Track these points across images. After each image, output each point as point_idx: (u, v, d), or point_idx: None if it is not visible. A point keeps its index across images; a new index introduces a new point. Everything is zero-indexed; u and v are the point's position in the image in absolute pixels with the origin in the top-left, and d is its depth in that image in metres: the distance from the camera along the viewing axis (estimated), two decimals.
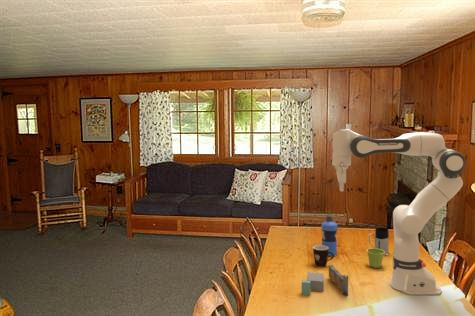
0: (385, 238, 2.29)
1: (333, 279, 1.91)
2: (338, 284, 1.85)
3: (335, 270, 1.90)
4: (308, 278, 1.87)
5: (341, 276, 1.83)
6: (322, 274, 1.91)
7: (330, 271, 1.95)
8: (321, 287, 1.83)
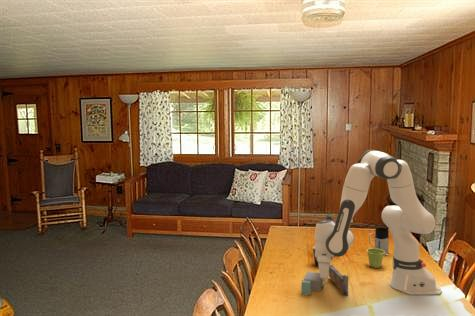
0: (385, 238, 2.29)
1: (333, 279, 1.91)
2: (338, 284, 1.85)
3: (335, 270, 1.90)
4: (305, 277, 1.87)
5: (341, 276, 1.83)
6: None
7: (330, 271, 1.95)
8: (318, 287, 1.83)
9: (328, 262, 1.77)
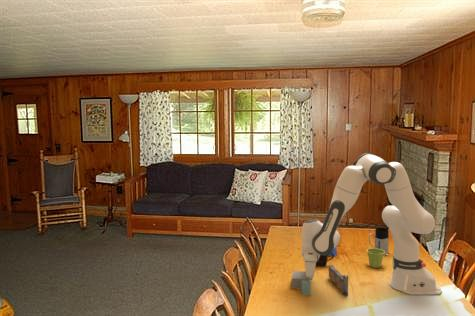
0: (385, 238, 2.29)
1: (333, 279, 1.91)
2: (338, 284, 1.85)
3: (335, 270, 1.90)
4: (293, 276, 1.89)
5: (341, 276, 1.83)
6: None
7: (330, 271, 1.95)
8: None
9: (314, 261, 1.79)
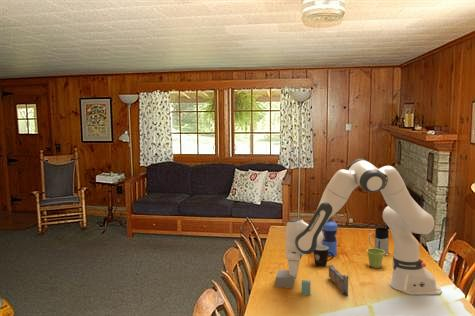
0: (385, 238, 2.29)
1: (333, 279, 1.91)
2: (338, 284, 1.85)
3: (335, 270, 1.90)
4: (277, 275, 1.90)
5: (341, 276, 1.83)
6: None
7: (330, 271, 1.95)
8: (290, 284, 1.87)
9: (297, 260, 1.81)
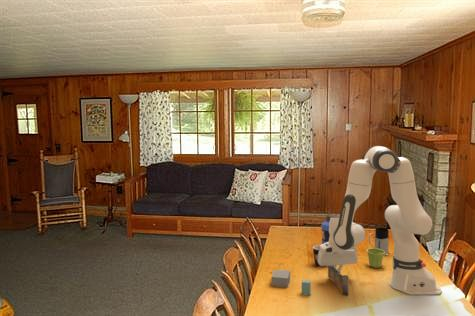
0: (385, 238, 2.29)
1: (332, 279, 1.91)
2: (338, 284, 1.85)
3: (334, 270, 1.90)
4: (273, 275, 1.91)
5: (341, 276, 1.83)
6: (288, 271, 1.95)
7: (329, 271, 1.95)
8: (286, 284, 1.87)
9: (323, 251, 1.91)
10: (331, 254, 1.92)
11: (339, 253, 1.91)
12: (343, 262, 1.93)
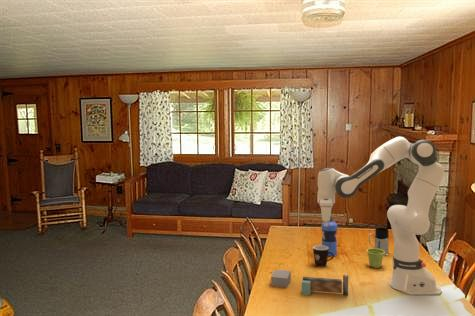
0: (385, 238, 2.29)
1: (316, 289, 1.81)
2: (330, 289, 1.79)
3: (318, 278, 1.81)
4: (273, 274, 1.91)
5: (334, 279, 1.79)
6: (288, 271, 1.95)
7: None
8: (285, 284, 1.87)
9: (330, 205, 1.88)
10: None
11: None
12: None
